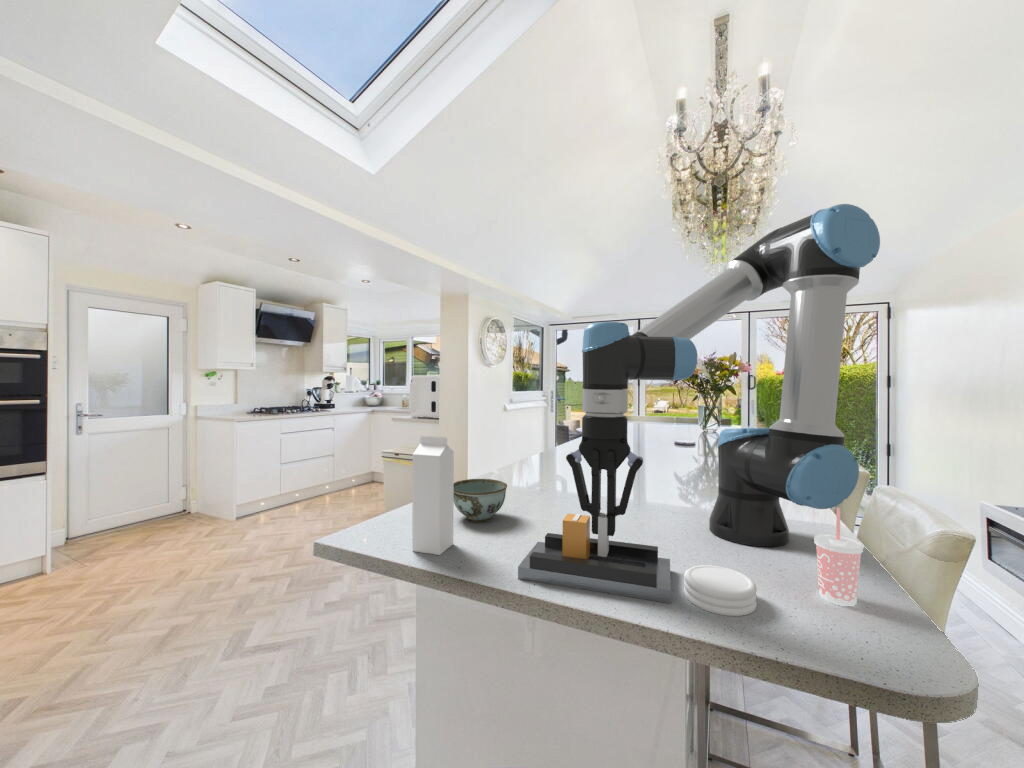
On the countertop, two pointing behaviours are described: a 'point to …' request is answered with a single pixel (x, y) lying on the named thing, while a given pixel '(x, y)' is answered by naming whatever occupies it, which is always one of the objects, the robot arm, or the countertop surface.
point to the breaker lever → (576, 536)
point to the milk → (432, 496)
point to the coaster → (720, 590)
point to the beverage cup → (838, 566)
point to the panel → (600, 583)
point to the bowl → (479, 498)
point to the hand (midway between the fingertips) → (603, 553)
